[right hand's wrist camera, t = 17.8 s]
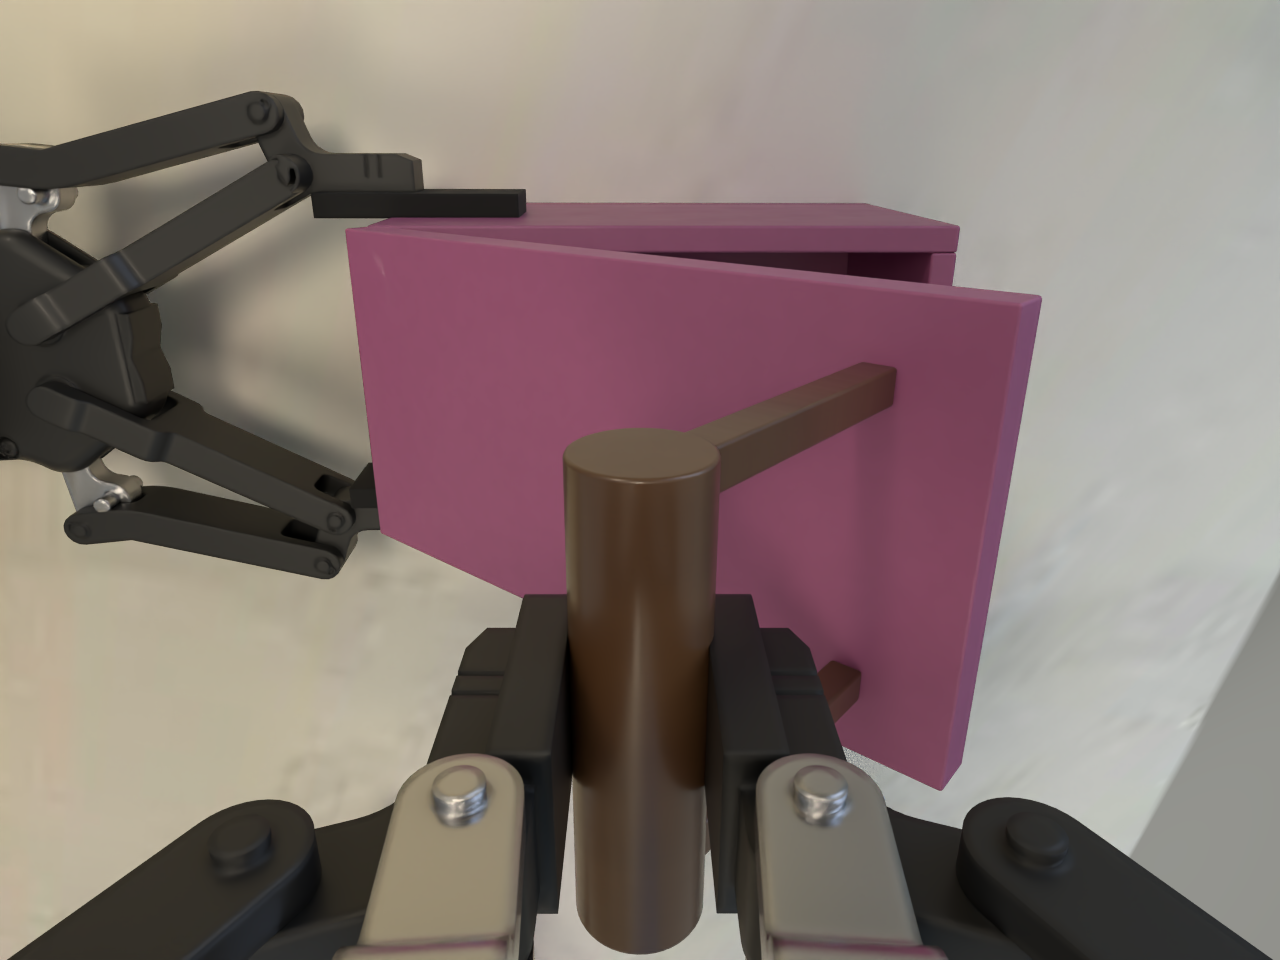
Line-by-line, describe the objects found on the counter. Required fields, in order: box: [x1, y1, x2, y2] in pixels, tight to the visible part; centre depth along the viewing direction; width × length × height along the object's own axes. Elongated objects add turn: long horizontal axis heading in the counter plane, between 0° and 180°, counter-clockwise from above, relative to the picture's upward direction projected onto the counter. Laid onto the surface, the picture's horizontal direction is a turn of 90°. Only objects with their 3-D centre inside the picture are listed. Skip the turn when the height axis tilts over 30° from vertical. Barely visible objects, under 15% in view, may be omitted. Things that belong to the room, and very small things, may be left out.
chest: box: [368, 203, 960, 286], centre depth 32 cm, size 18×9×10 cm, turn 90°
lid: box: [345, 226, 1042, 955], centre depth 18 cm, size 18×9×8 cm
